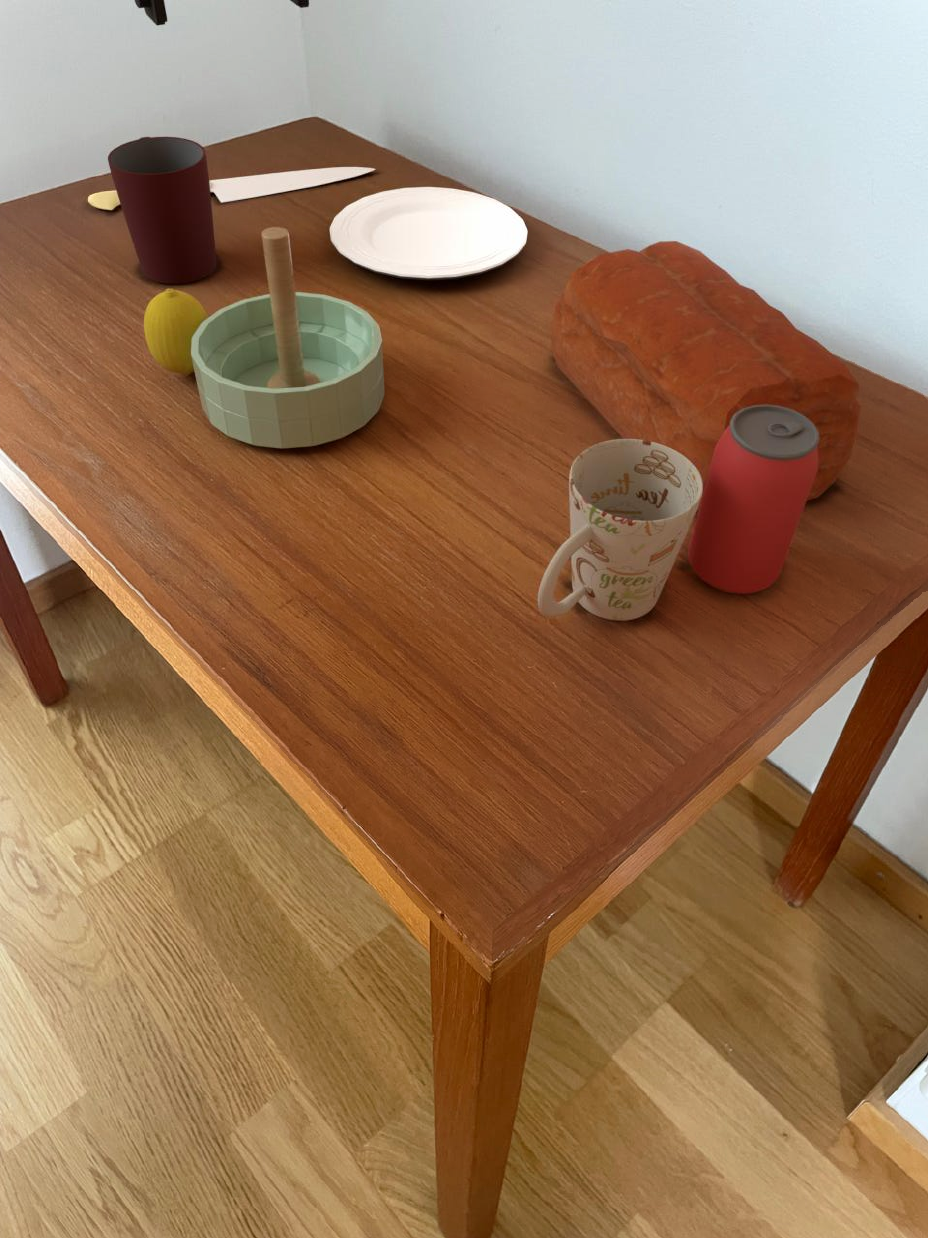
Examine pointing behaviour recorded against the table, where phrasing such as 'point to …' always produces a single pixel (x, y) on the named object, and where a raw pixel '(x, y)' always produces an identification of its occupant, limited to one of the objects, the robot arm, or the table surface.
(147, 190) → the mug
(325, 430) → the bowl
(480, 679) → the table surface
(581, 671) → the table surface
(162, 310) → the lemon
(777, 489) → the beer can
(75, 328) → the table surface
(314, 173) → the knife
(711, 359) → the bread
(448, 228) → the plate
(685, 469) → the mug
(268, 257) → the wooden peg with base
